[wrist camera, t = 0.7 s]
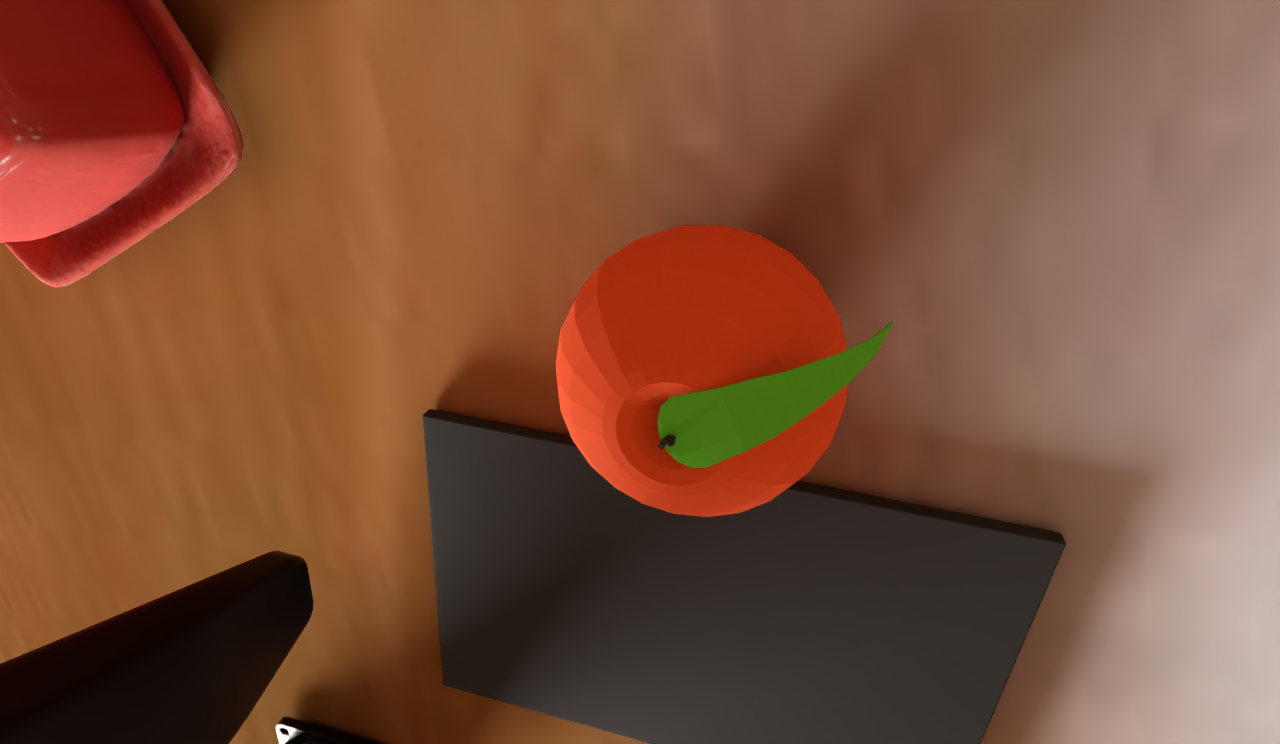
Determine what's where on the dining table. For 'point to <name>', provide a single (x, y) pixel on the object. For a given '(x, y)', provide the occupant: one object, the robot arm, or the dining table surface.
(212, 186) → the butter dish
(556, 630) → the placemat
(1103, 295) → the dining table surface
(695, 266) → the clementine
